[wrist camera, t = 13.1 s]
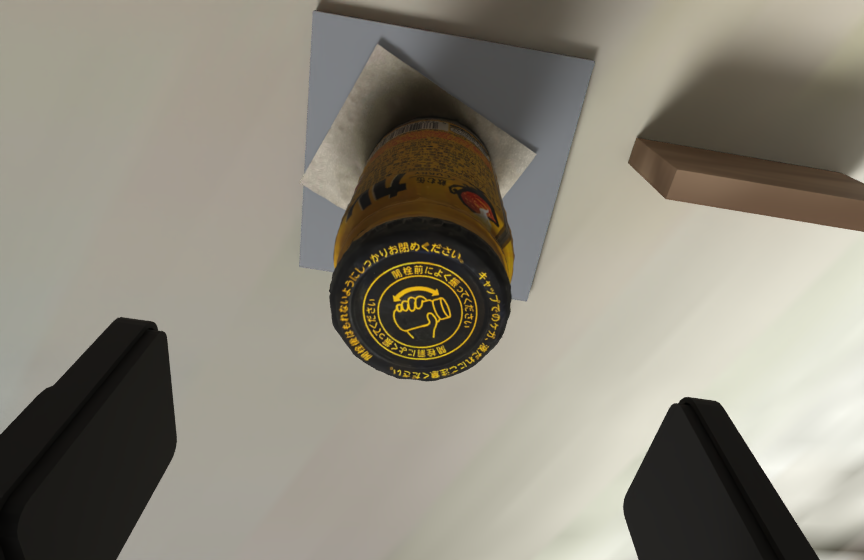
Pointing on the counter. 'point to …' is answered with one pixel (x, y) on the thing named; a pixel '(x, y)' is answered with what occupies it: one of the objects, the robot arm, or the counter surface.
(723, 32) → the counter surface
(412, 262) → the condiment
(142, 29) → the counter surface
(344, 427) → the counter surface
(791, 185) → the brown angular block
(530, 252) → the mat
